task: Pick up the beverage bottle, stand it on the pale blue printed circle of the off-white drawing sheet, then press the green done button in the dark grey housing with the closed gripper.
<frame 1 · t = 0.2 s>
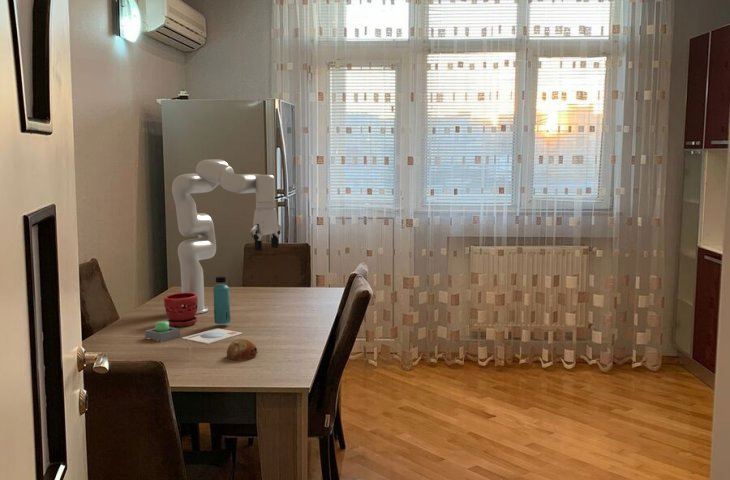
hand: (266, 249, 297), 31 cm above the table, tool pointing down, fingers open, 9 cm apart
bread roll: (242, 357, 255), on the table
beverage bottle: (222, 326, 299), on the table
done button: (162, 327, 281), point 4 cm above the table, slide at 0.0 cm
button housing: (162, 337, 281), on the table
drawing sheet: (212, 336, 283), on the table
plant pot: (181, 324, 303), on the table
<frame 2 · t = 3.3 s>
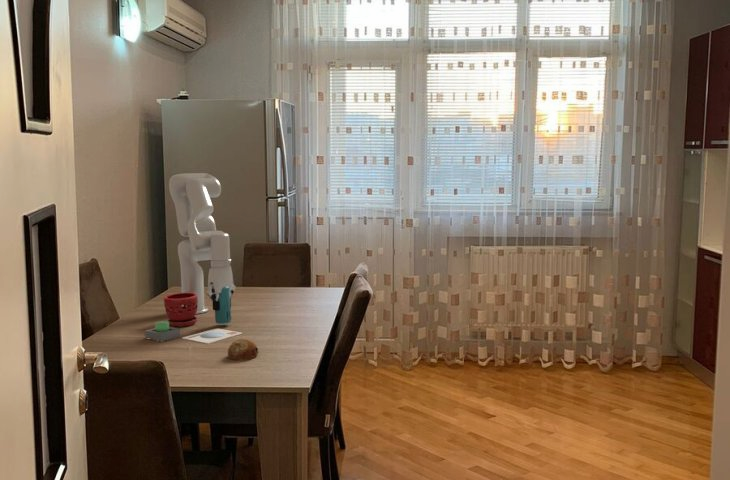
hand: (222, 308, 298), 7 cm above the table, tool pointing down, fingers closed on beverage bottle, 5 cm apart
beverage bottle: (223, 325, 300), on the table, touching gripper
everything else where it was.
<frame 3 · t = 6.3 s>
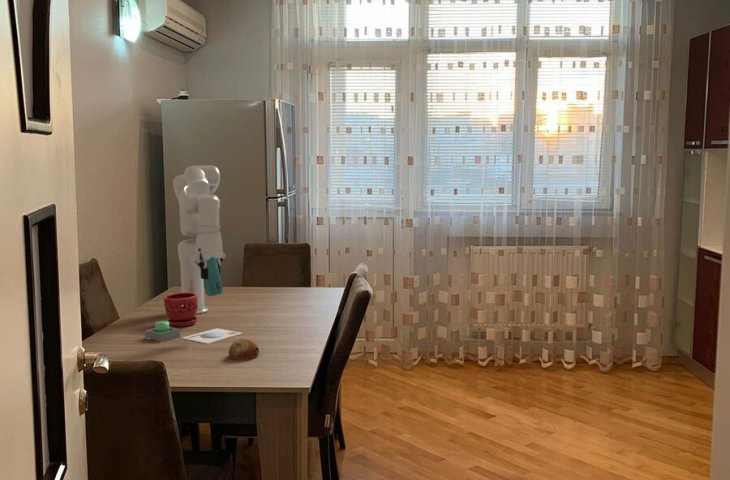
hand: (210, 277, 280), 23 cm above the table, tool pointing down, fingers closed on beverage bottle, 5 cm apart
beverage bottle: (215, 298, 282), point 14 cm above the table, touching gripper
everything else where it was.
when the fingers open (9 cm above the table, at t = 8.7 s): beverage bottle stays where it is, resting on drawing sheet.
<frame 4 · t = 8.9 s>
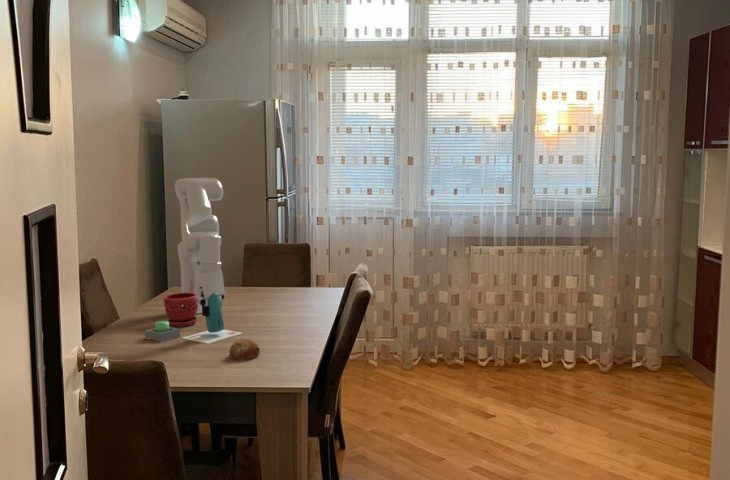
hand: (211, 314, 282), 8 cm above the table, tool pointing down, fingers open, 5 cm apart
beverage bottle: (216, 334, 283), point 1 cm above the table, touching drawing sheet
everything else where it was.
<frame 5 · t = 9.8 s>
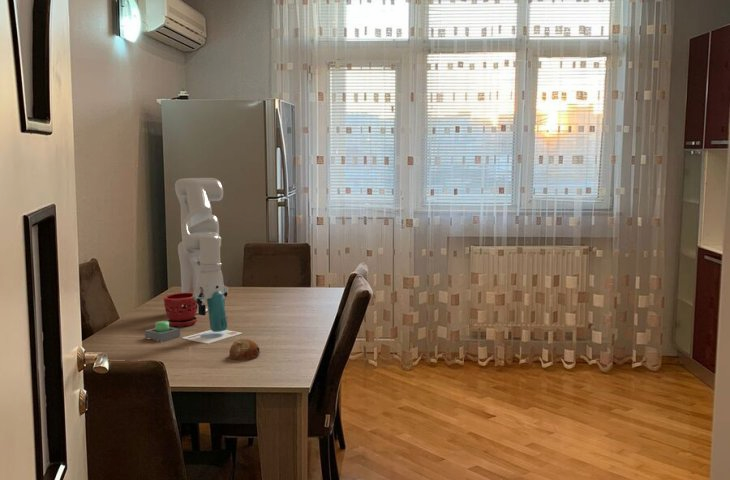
hand: (211, 312, 282), 9 cm above the table, tool pointing down, fingers open, 9 cm apart
beverage bottle: (219, 333, 285), point 1 cm above the table, touching drawing sheet, gripper
everything else where it was.
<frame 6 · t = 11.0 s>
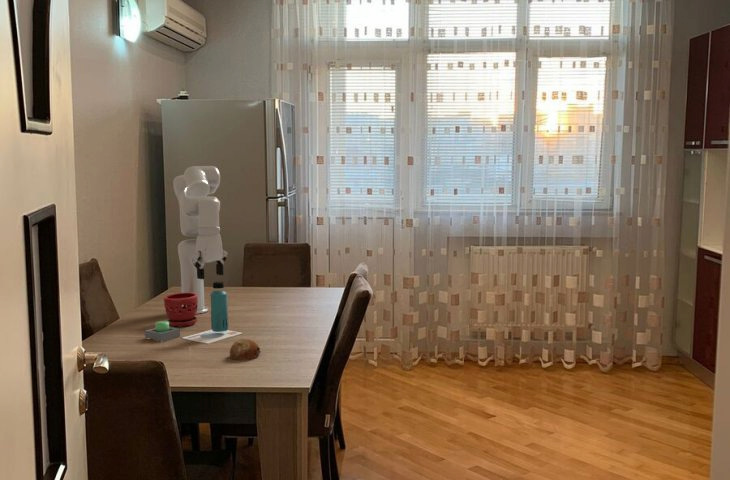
hand: (210, 276, 281), 23 cm above the table, tool pointing down, fingers open, 9 cm apart
beverage bottle: (220, 334, 285), resting on drawing sheet
everything else where it was.
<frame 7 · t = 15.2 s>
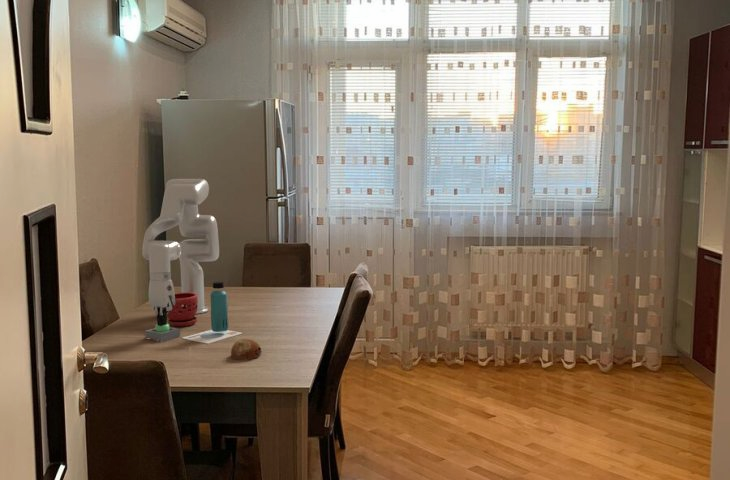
hand: (162, 324, 280), 5 cm above the table, tool pointing down, fingers closed
done button: (162, 329, 281), point 3 cm above the table, slide at 0.8 cm, touching gripper
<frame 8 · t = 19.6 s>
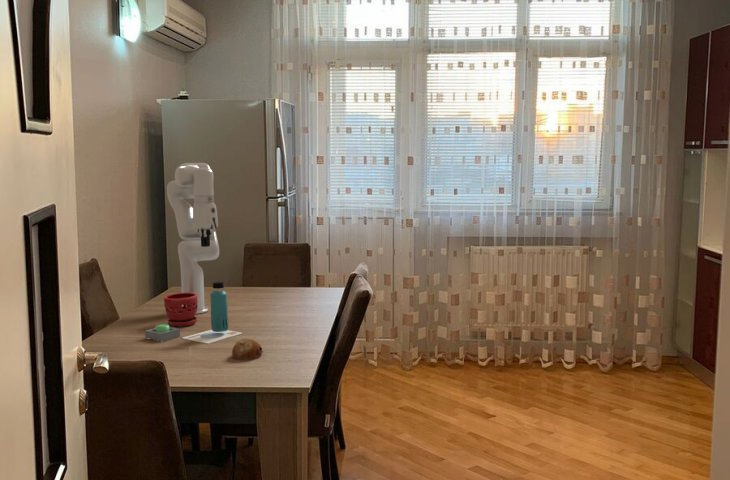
hand: (205, 246, 296), 32 cm above the table, tool pointing down, fingers closed
done button: (162, 331, 281), point 3 cm above the table, slide at 1.3 cm
at the end: beverage bottle inside the target area on the drawing sheet (3.1 cm from its centre), point 0.2 cm above the drawing sheet's base; beverage bottle tilted 0°; done button slide at 1.3 cm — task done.
